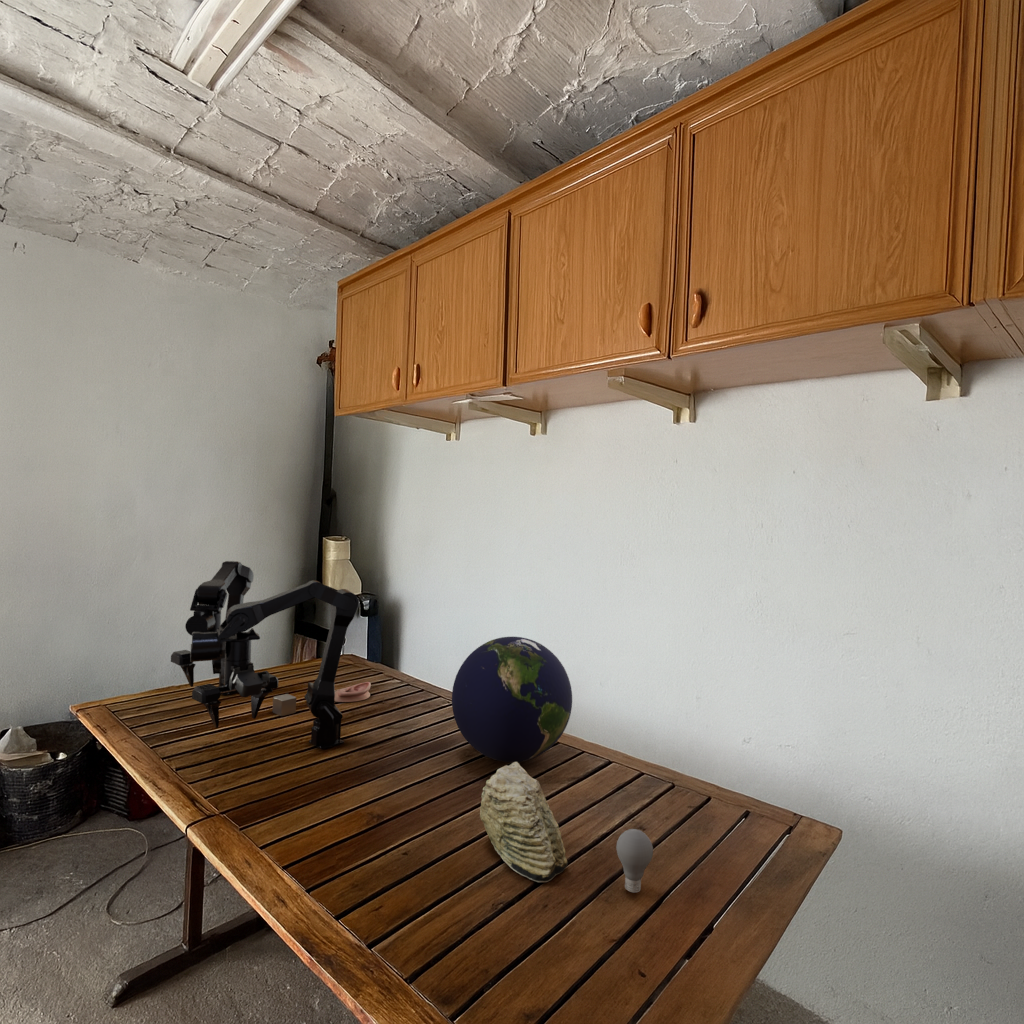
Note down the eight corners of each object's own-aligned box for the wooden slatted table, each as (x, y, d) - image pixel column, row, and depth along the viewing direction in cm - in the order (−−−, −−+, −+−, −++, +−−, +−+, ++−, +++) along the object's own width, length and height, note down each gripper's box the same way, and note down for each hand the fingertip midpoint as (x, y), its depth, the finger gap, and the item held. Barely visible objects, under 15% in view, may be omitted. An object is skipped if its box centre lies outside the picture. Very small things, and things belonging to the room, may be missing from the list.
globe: (497, 727, 179) (502, 621, 178) (591, 755, 161) (596, 638, 161) (424, 759, 155) (429, 637, 154) (524, 797, 137) (530, 659, 137)
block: (272, 712, 183) (272, 696, 183) (286, 708, 187) (287, 693, 187) (281, 716, 180) (281, 700, 180) (295, 712, 184) (296, 697, 184)
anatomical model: (319, 687, 195) (337, 677, 207) (319, 699, 195) (336, 689, 207) (359, 691, 193) (375, 681, 204) (359, 704, 193) (374, 693, 204)
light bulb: (610, 879, 108) (613, 822, 108) (644, 879, 109) (647, 822, 109) (619, 902, 102) (622, 840, 102) (655, 901, 103) (658, 840, 103)
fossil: (501, 827, 124) (504, 751, 124) (575, 868, 111) (578, 784, 111) (467, 843, 118) (470, 763, 118) (541, 889, 105) (545, 799, 105)
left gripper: (190, 638, 168) (188, 696, 169) (255, 628, 183) (253, 682, 183) (170, 631, 175) (168, 687, 175) (235, 622, 190) (233, 674, 190)
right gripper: (214, 672, 140) (211, 742, 140) (291, 658, 154) (289, 722, 154) (192, 662, 147) (189, 729, 147) (267, 650, 161) (265, 710, 161)
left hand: (207, 683), depth 181 cm, fingers open, 9 cm apart
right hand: (235, 722), depth 152 cm, fingers open, 9 cm apart
